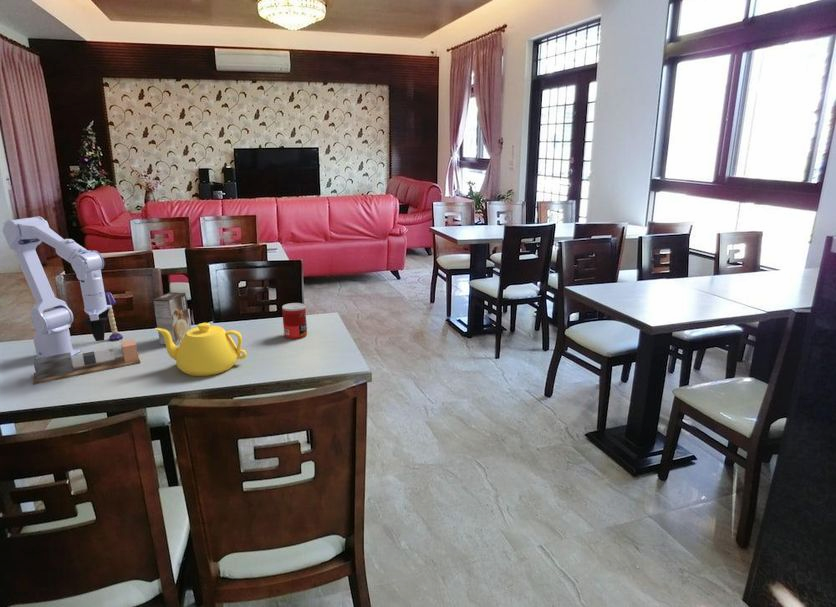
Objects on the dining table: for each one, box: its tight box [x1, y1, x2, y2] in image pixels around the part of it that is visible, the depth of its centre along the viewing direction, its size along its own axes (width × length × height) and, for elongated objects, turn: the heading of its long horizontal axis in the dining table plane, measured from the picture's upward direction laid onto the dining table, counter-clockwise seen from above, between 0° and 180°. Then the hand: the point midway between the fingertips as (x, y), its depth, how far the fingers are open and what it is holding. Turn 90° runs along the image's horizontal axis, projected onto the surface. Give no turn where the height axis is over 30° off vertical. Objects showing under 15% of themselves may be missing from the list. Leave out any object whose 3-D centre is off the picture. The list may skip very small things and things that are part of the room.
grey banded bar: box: [71, 348, 116, 367], centre depth 162 cm, size 19×3×3 cm, turn 123°
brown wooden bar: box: [32, 353, 141, 385], centre depth 163 cm, size 28×8×5 cm, turn 123°
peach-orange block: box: [120, 339, 140, 363], centre depth 169 cm, size 4×5×5 cm
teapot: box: [155, 322, 248, 377], centre depth 163 cm, size 25×18×14 cm
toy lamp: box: [104, 291, 124, 341], centre depth 186 cm, size 5×5×17 cm
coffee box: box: [152, 291, 192, 346], centre depth 184 cm, size 9×6×16 cm
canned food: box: [281, 302, 308, 340], centre depth 189 cm, size 8×8×11 cm
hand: (101, 336), depth 164 cm, fingers open, 7 cm apart
